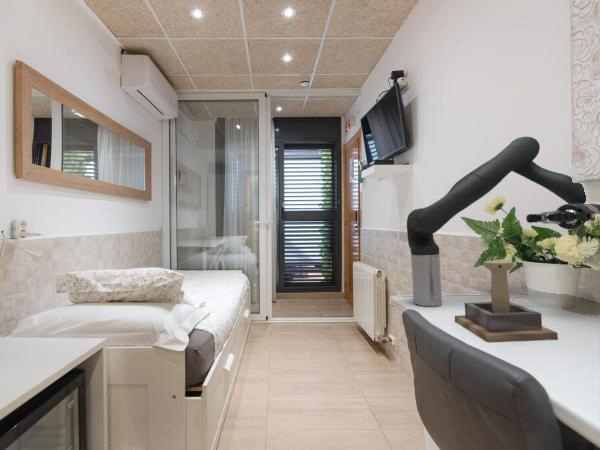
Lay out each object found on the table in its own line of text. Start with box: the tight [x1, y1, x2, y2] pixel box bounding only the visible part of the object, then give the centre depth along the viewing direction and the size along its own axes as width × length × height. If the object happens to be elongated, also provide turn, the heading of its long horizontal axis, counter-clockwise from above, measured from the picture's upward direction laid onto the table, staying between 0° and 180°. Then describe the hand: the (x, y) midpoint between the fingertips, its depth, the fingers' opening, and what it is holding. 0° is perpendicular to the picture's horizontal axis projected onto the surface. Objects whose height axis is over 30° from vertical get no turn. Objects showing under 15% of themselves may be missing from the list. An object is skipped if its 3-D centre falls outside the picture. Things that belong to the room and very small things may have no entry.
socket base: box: [454, 301, 559, 343], centre depth 80 cm, size 16×16×6 cm
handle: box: [483, 260, 515, 313], centre depth 80 cm, size 5×6×15 cm
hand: (544, 217), depth 86 cm, fingers open, 8 cm apart
